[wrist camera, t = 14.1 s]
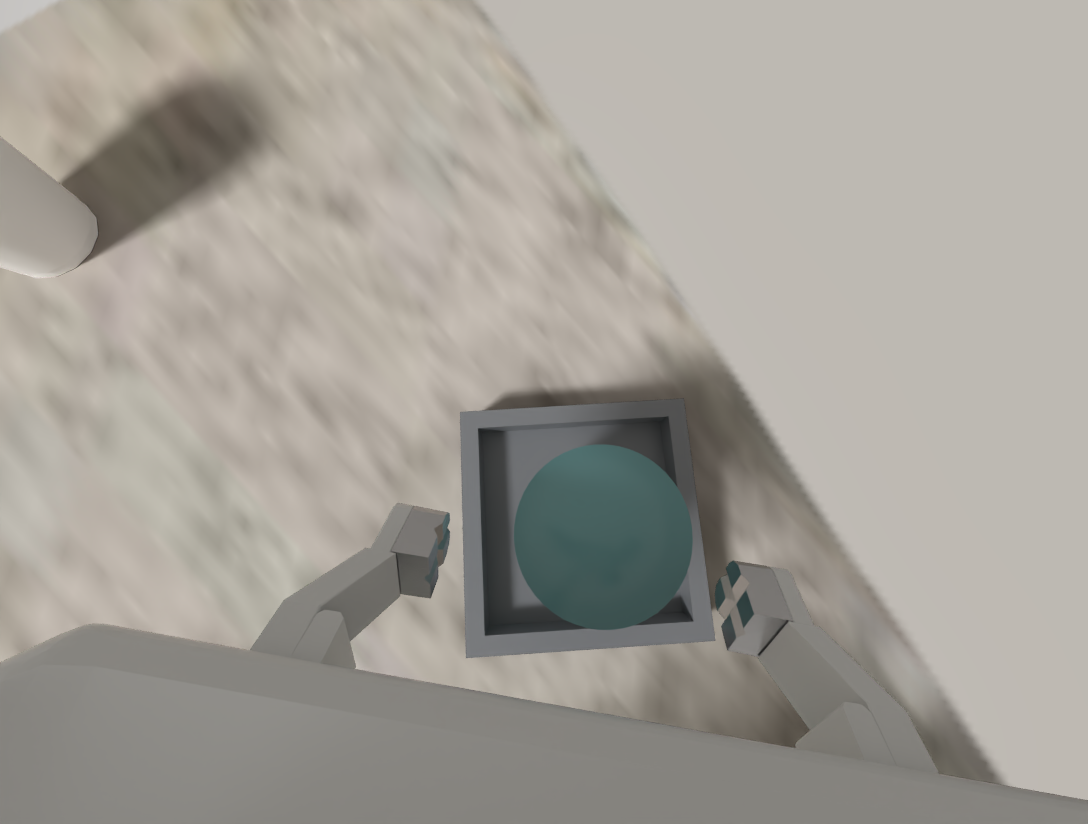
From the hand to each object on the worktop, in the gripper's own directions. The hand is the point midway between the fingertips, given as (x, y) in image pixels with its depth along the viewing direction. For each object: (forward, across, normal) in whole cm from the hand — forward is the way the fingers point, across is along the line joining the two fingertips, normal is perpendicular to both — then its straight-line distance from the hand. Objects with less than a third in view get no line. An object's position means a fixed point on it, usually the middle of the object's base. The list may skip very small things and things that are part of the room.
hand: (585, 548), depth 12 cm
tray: (+10, -1, +10) cm, 14 cm away
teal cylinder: (+9, -1, +9) cm, 13 cm away
